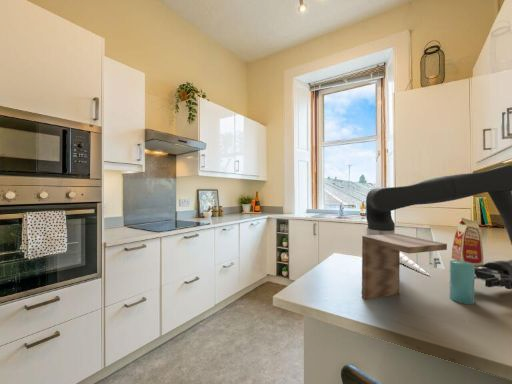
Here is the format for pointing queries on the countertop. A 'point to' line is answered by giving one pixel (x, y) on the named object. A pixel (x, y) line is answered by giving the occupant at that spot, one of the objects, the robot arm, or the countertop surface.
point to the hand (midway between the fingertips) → (469, 278)
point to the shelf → (388, 261)
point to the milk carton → (468, 243)
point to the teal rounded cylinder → (462, 281)
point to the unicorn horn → (411, 264)
